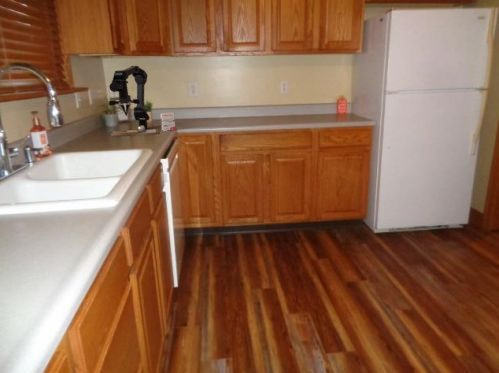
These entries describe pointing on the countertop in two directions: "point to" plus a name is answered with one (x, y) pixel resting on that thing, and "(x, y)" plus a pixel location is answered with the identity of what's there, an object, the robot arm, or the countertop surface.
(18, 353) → the countertop surface
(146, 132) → the hinge board
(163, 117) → the ink box
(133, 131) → the loose leaf
